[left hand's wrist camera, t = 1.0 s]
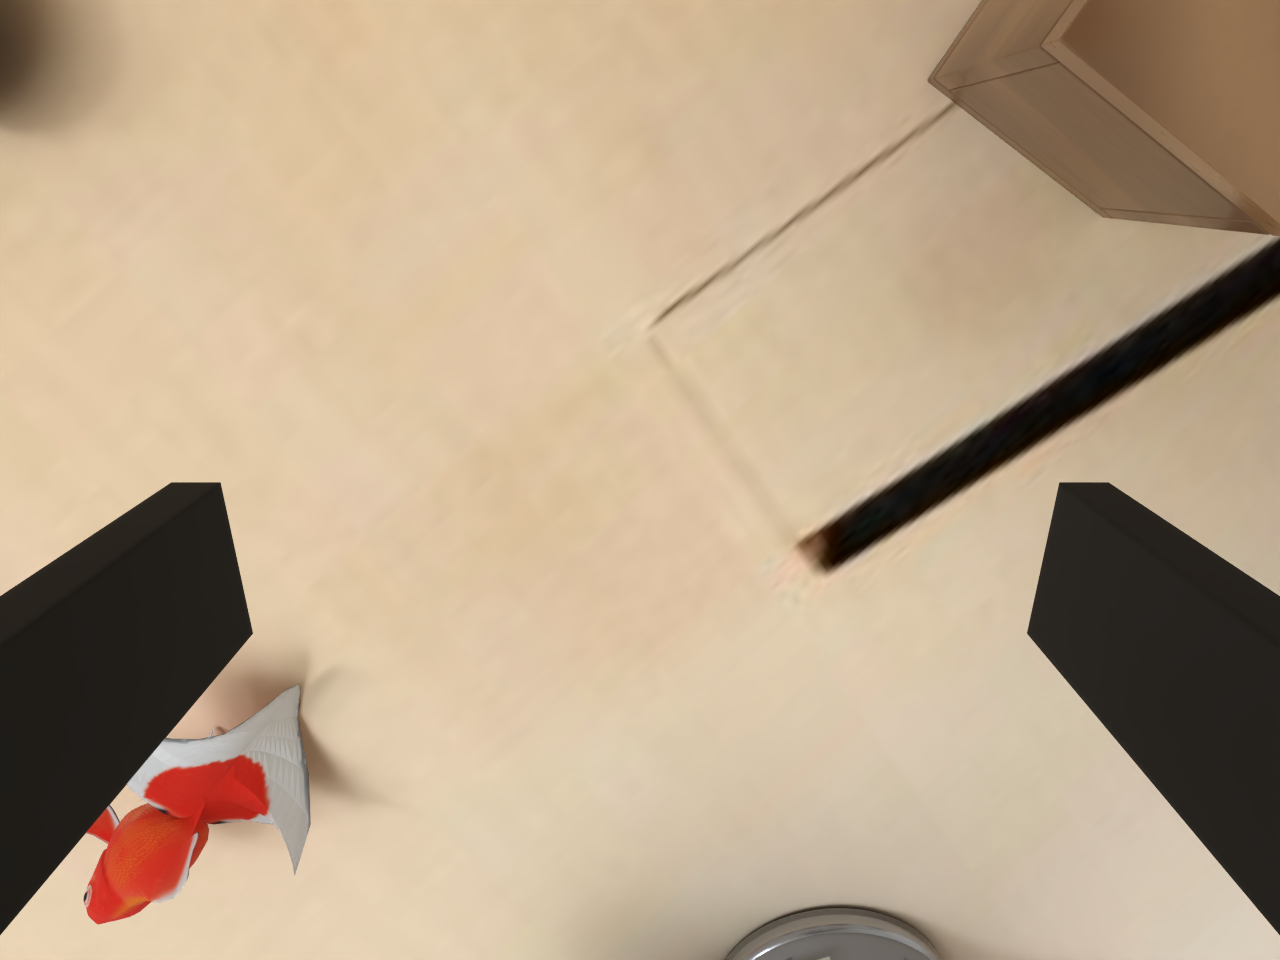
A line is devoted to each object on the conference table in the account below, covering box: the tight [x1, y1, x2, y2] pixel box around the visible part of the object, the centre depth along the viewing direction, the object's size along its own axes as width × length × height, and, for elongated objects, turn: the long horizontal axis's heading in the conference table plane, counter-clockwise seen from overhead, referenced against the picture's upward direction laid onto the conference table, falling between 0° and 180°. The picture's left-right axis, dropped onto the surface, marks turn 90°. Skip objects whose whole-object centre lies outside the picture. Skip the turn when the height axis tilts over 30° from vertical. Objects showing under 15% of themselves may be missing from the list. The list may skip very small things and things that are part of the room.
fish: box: [84, 684, 311, 924], centre depth 41 cm, size 11×16×10 cm
